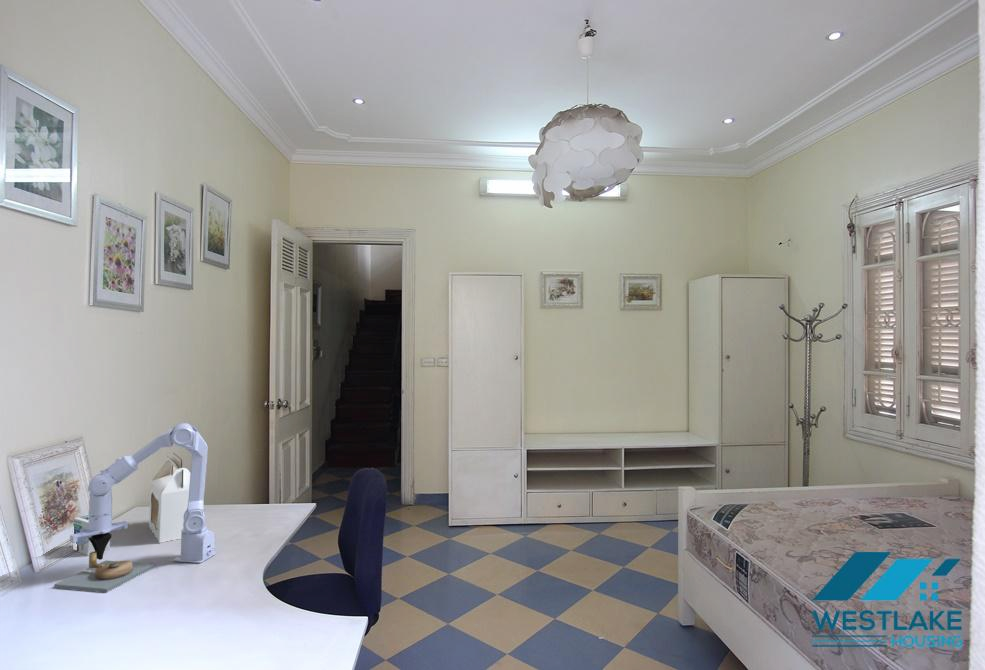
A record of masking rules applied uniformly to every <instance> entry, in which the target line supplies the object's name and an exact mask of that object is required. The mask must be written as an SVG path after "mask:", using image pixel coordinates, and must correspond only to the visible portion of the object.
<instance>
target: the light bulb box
mask: <svg viewBox="0 0 985 670" xmlns="http://www.w3.org/2000/svg"><path fill="white" fill-rule="evenodd" d="M88 523H89V514H87V515H82V516H77V517H74V518H73V524H72V525H73V526H74V534H76V533H79V532H81V531H84V530H87V529H88ZM76 544H77V551H78V552H77V551H76V552H77V553H80V554H82V555H84V556H87V557H89V553H91V552H95V550H94V547H93V545H92V543H91V542H90V540H89V539H88V538H87V539H83V540H79V541H77V542H76ZM110 544H111V540H110V541H109V542H108V544H107V546H106V548H105V551H106V550H107V551H110V550H109V549H111V548H110V547H111V545H110ZM105 551H104V552H105Z"/></svg>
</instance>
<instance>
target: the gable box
mask: <svg viewBox="0 0 985 670" xmlns="http://www.w3.org/2000/svg"><path fill="white" fill-rule="evenodd" d="M166 457H167V459H168V461H166V462H165V463H164V464H163V466H162V467H161V469H160V470H159V471H158V472H157V474H155V476H154V478H153V479H152V480H151V481H150V486H149V487H150V489H149V515H148V516H149V519H148V521H149V523H148V527H149V529H150V531H151V530H152V531H151V532H152V534H153V533H154V534H153V535H155V536H154V537H155V539H156V538H157V539H156V540H158V541H157V542H158V544H161V543H160V542H164V543H166V542H165V541H169V542H171V541H170V540H174V541H177V540H176V539H179V540H181V539H180V538H181V530H182V529H183V528H184V527H183V523H184V518H183V517H184V513H185V511H186V510H187V507H188V498H189V486H190V474H191V471H189V469H188V468H186V467H183V459H182V458H181V457H179V456H178V455H177V454H176V453H174V452H172V453H171V457H170V456H168V455H167V456H166Z"/></svg>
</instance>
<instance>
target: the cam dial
mask: <svg viewBox="0 0 985 670" xmlns="http://www.w3.org/2000/svg"><path fill="white" fill-rule="evenodd" d="M97 560H98V559H97V552H91V553H89V556H88V568H96V570H95V578H97V579H101V580H106V579H114V578H118V577H121V576H124V575H126V574H128V573H130V572H131V571H132V563H133V562H132V561H130V560H129V561H128V560H115V561H116V562H111V563H107V564H99V563H97V562H98V561H97Z"/></svg>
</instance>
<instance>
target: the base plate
mask: <svg viewBox="0 0 985 670" xmlns="http://www.w3.org/2000/svg"><path fill="white" fill-rule="evenodd" d="M116 561H117V560H104V561H102V562H100V563H98V564H107V563H111V562H116ZM154 568H155V564H153V563H143V562H141V563H140V562H132V571H131V572H130V573H128V574H126V575H124V576H121V577H118V578H114V579H106V580H101V579H97V578H95V570H96V568H89V567H88V568H87V569H84V570H82V571H79V572H78V573H76V574H73V575H72V576H69V577H67V578H65V579H63V580H60V581H58V582H55V583H54V585H53V588H54V587H57V588H56V589H62V588H67V589H66V590H73V589H76V590H77V591H84V590H87V592H95V591H98V593H106V592H107V593H109V592H111V591H113V590H115V589H116V588H118V587H120V586H122V585H124V584H126V583H128V582H130V581H131V580H130V579H132V578H133V579H135V578H137V577H138V575H139V576H141V575H143V574H145V573H147V572H149V571H150V570H152V569H154ZM148 570H149V571H148ZM146 571H147V572H146ZM144 572H145V573H144ZM142 573H143V574H142ZM140 574H141V575H140ZM136 576H137V577H136ZM134 577H135V578H134ZM133 579H132V580H133ZM129 580H130V581H129ZM127 581H128V582H127ZM125 582H126V583H125ZM123 583H124V584H123ZM121 584H122V585H121ZM119 585H120V586H119ZM117 586H118V587H117ZM115 587H116V588H115ZM114 588H115V589H114ZM112 589H113V590H112ZM110 590H111V591H110ZM108 591H109V592H108Z"/></svg>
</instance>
